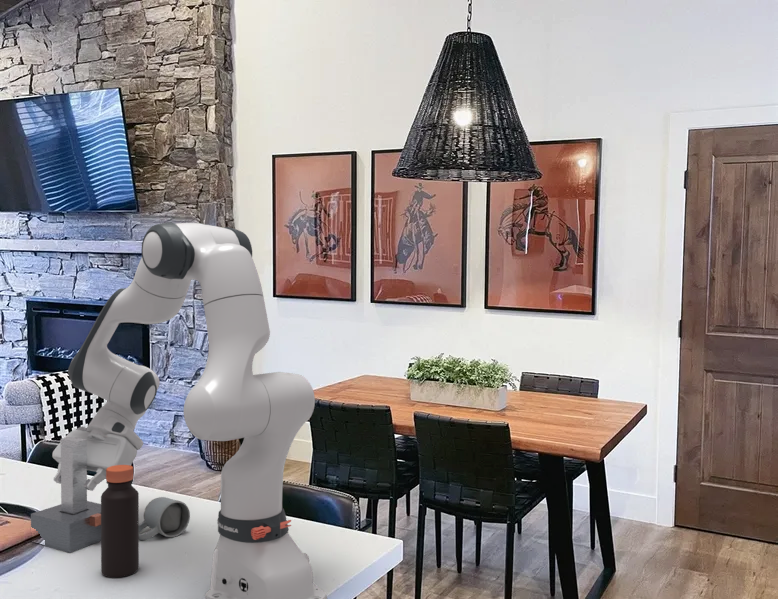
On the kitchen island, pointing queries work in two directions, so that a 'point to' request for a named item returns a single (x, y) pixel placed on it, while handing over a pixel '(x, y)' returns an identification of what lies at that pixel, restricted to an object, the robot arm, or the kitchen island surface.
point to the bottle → (119, 523)
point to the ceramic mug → (164, 518)
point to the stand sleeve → (68, 527)
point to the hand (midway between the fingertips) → (72, 485)
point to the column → (73, 475)
